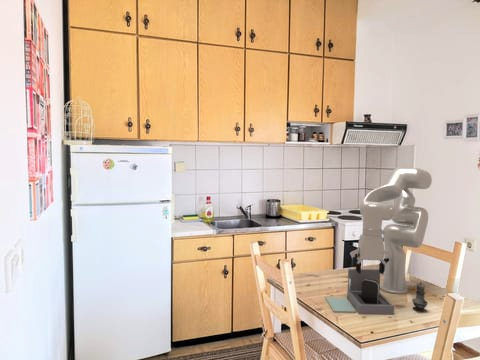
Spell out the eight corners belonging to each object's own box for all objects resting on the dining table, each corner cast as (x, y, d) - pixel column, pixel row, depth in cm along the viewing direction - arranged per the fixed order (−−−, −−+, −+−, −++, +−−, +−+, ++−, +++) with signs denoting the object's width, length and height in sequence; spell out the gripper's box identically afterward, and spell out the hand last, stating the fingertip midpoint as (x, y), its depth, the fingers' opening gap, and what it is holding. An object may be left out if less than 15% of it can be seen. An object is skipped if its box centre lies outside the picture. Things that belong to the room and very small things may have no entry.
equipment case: (378, 298, 159) (379, 269, 158) (393, 314, 143) (395, 281, 142) (347, 298, 159) (348, 268, 158) (359, 313, 143) (360, 281, 142)
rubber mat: (345, 299, 158) (345, 297, 158) (355, 312, 144) (355, 311, 144) (325, 298, 158) (325, 297, 158) (333, 312, 144) (333, 310, 144)
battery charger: (379, 306, 150) (380, 280, 150) (377, 309, 147) (378, 282, 147) (363, 302, 154) (364, 276, 154) (360, 305, 151) (361, 279, 151)
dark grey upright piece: (409, 306, 151) (410, 279, 150) (423, 307, 151) (424, 279, 150) (415, 312, 145) (417, 283, 144) (430, 313, 145) (431, 284, 144)
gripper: (388, 231, 153) (386, 271, 153) (348, 230, 153) (346, 269, 153) (396, 235, 145) (394, 276, 146) (354, 233, 145) (352, 274, 146)
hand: (369, 272), depth 150 cm, fingers open, 9 cm apart
